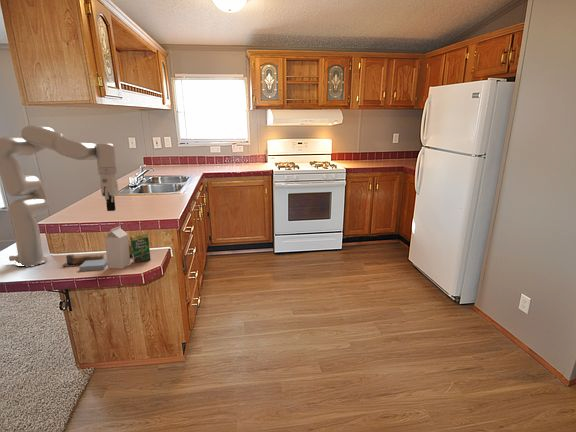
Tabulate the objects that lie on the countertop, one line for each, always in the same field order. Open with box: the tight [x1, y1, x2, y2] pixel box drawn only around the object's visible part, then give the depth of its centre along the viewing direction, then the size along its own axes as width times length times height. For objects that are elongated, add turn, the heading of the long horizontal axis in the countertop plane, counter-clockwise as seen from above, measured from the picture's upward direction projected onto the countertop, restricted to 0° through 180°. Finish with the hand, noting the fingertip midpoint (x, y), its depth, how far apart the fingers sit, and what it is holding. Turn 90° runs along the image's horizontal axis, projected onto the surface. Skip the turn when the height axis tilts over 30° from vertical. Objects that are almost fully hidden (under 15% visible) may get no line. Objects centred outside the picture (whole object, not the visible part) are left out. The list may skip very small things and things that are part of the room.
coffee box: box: [130, 233, 151, 263], centre depth 167 cm, size 8×3×13 cm, turn 127°
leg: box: [65, 254, 105, 265], centre depth 164 cm, size 16×3×4 cm, turn 108°
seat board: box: [78, 258, 108, 272], centre depth 160 cm, size 10×9×2 cm
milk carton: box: [104, 225, 131, 270], centre depth 159 cm, size 7×7×19 cm
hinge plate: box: [62, 262, 81, 268], centre depth 163 cm, size 7×7×1 cm
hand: (111, 210), depth 157 cm, fingers closed
